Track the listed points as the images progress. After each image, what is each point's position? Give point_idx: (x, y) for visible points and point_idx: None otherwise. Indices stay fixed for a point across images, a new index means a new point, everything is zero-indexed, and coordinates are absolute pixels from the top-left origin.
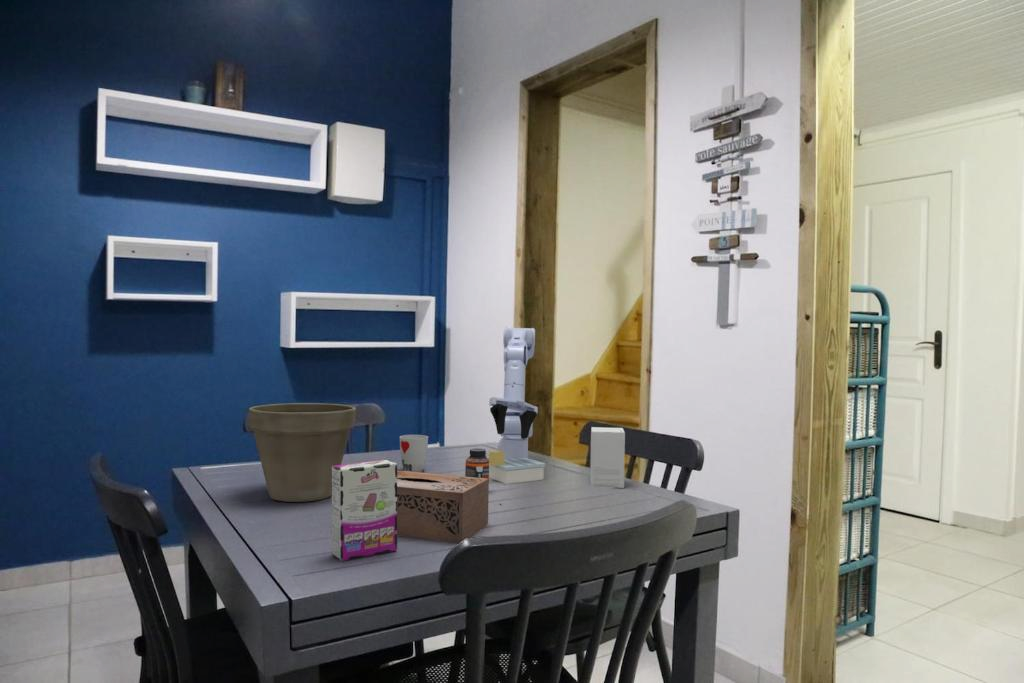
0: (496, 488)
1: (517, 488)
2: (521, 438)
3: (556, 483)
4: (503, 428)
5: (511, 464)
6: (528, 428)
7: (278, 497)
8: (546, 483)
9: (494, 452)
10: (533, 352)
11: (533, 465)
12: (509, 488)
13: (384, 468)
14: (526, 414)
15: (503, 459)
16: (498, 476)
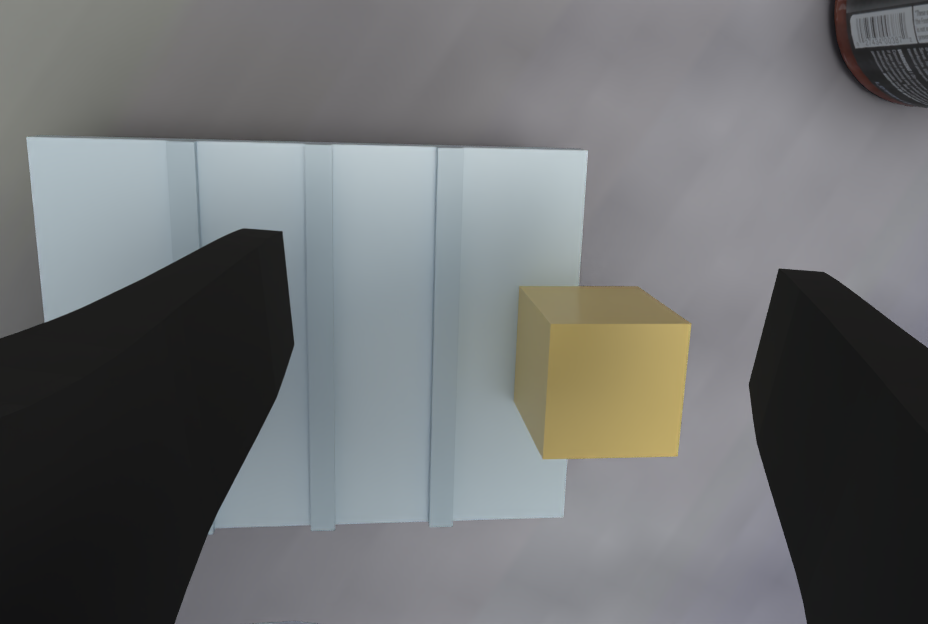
0: (651, 120)
1: (493, 23)
2: (292, 344)
3: (22, 8)
4: (829, 295)
5: (460, 239)
6: (173, 284)
7: None
8: (120, 61)
9: (685, 343)
10: None
11: (212, 141)
12: (555, 62)
13: None
14: (26, 605)
15: (544, 301)
16: None
